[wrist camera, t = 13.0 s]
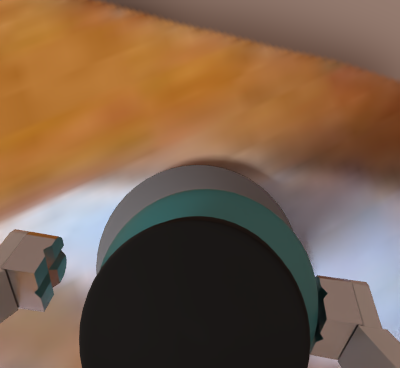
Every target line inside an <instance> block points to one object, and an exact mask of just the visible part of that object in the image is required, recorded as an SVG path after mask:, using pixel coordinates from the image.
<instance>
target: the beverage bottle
mask: <svg viewBox="0 0 400 368" xmlns="http://www.w3.org/2000/svg"><path fill="white" fill-rule="evenodd" d="M317 319H318V292H317V284H316V279H315V275H314V272H313V268H312V265H311V263H310V260H309V258H308V255H307V253H306V251H305V249H304V248H303V246H302V244H301V242H300V241H299V239H298V238H297V237H296V235H295V234H294V232H293V231H292V230H291V229H290V228H289V227H288V225H287V224H286V223H285V222H284V221H283V220H282V219H281V218H279V217H278V216H277V215H276V214H275V213H274V212H272V211H271V210H269V209H268V208H266V207H265V206H263V205H262V204H260V203H258V202H256V201H254V200H252V199H250V198H248V197H246V196H243V195H240V194H237V193H234V192H229V191H225V190H218V189H194V190H187V191H182V192H178V193H175V194H171V195H168V196H166V197H164V198H161V199H159V200H157V201H155V202H153V203H152V204H150V205H148V206H146V207H145V208H144V209H142V210H141V211H140V212H138V213H137V214H136V215H135V216H134V217H132V218H131V219H130V220H129V221H128V222H127V223H126V224H125V225H124V227H123V228H122V229H121V230H120V231H119V233H118V234H117V235H116V237H115V238H114V240H113V242H112V243H111V245H110V246H109V248H108V251H107V253H106V255H105V257H104V259H103V262H102V265H101V267H100V270H99V272H98V274H97V276H96V277H95V279H94V281H93V283H92V285H91V288H90V290H89V292H88V295H87V298H86V301H85V304H84V307H83V311H82V316H81V322H80V335H79V345H80V358H81V364H82V368H307V367H308V362H309V355H310V348H311V345H312V342H313V339H314V335H315V331H316V327H317Z"/></svg>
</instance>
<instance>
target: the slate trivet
mask: <svg viewBox="0 0 400 368" xmlns="http://www.w3.org/2000/svg"><path fill="white" fill-rule="evenodd" d="M194 189H218V190H225V191H229V192H234V193H237V194H240V195H243V196H246V197H248V198H250V199H252V200H254V201H256V202H258V203H260V204H262V205H263V206H265V207H266V208H268V209H269V210H271V211H272V212H274V213H275V214H276V215H277V216H278V217H279V218H281V219H282V220H283V221H284V222H285V223H286V224H287V225H288V227H289V228H290V229H291V230H292V228H291V225H290V223H289V221H288V219H287V218H286V216H285V214H284V212H283V211H282V209H281V208H280V207H279V205H278V204H277V203H276V201H275V200H274V199H273V198H272V197H271V196H270V195H269V194H268V193H267V192H266V191H265V190H264V189H262V188H261V187H260V186H259V185H257V184H256V183H255V182H253V181H251V180H250V179H248V178H246V177H245V176H243V175H240V174H238V173H236V172H234V171H231V170H227V169H224V168H220V167H215V166H209V165H190V166H181V167H177V168H172V169H169V170H166V171H163V172H160V173H158V174H156V175H154V176H152V177H150V178H148V179H146V180H145V181H143V182H142V183H140V184H139V185H138V186H136V187H135V188H134V189H133V190H132V191H130V192H129V193H128V194H127V195H126V196H125V197H124V199H123V200H122V201H121V202H120V203H119V204H118V206H117V207H116V209H115V210H114V212H113V213H112V215H111V216H110V218H109V220H108V222H107V224H106V226H105V228H104V231H103V234H102V237H101V240H100V244H99V249H98V253H97V265H96V271H97V274H98V272H99V270H100V267H101V265H102V262H103V259H104V257H105V255H106V253H107V251H108V248H109V246H110V245H111V243H112V242H113V240H114V238H115V237H116V235H117V234H118V233H119V231H120V230H121V229H122V228H123V227H124V225H125V224H126V223H127V222H128V221H129V220H130V219H131V218H132V217H134V216H135V215H136V214H137V213H138V212H140V211H141V210H142V209H144V208H145V207H146V206H148V205H150V204H152V203H153V202H155V201H157V200H159V199H161V198H164V197H166V196H168V195H171V194H175V193H178V192H182V191H187V190H194ZM292 231H293V230H292Z"/></svg>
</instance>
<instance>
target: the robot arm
mask: <svg viewBox="0 0 400 368" xmlns="http://www.w3.org/2000/svg"><path fill="white" fill-rule="evenodd" d="M63 246H64V244H63V240H62V238H61V237H57V236H52V235H46V234H41V233H35V232H28V231H22V230H16V229H15V230H13V231H12V232H10V233H9V235H8V236H7V237H6V238H5V240H4V241H3V242H2V244H1V245H0V323H1V322H3V321H4V320H5V319H7V318H8V317H9V316H11V315H12V314H13V313H15V312H16V311H17V310H18V308H20V309H28V310H35V311H43V312H44V311H45V310H46V308H47V306H48V304H49V302H50V300H51V299H52V297H53V295H54V293H53V287H54V286H56V285H58V284H59V283H60V282H61V280H62V278H63V276H64V273H65V269H66V255H65V254H64V253H63V252H62V251H61V249H62V247H63ZM315 279H316V284H317V292H318V319H317V327H316V331H315V335H314V339H313V342H312V345H311V348H310V355H314V356H320V357H325V358H330V359H336V360H338V362H339V364H340V365H341V367H342V368H400V342H399V341H398V340H397V339H396V338H395V337H394V336H393V335H392V334H391V333H390V332H389V331H388V330H386V329H382V326H381V323H380V320H379V317H378V313H377V310H376V307H375V304H374V301H373V298H372V294H371V291H370V288H369V285H368V284H367V283H366V282H360V281H353V280H348V279H340V278H333V277H326V276H319V275H317V276H316V277H315Z"/></svg>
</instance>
